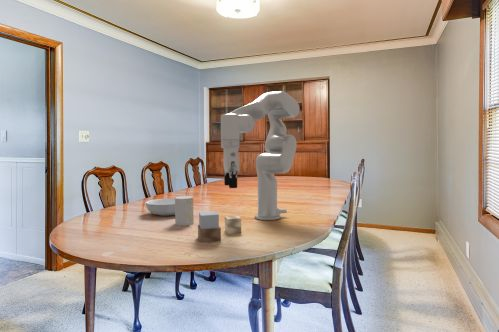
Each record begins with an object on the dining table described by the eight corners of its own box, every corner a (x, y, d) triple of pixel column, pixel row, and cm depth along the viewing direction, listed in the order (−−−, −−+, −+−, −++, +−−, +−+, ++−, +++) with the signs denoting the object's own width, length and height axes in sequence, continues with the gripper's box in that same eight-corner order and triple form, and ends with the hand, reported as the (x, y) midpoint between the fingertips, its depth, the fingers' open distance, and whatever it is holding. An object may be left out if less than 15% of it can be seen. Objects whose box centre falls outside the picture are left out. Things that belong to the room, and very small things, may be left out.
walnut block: (217, 236, 126) (217, 223, 126) (220, 241, 119) (220, 228, 119) (198, 237, 124) (197, 224, 124) (200, 243, 117) (200, 229, 117)
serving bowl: (195, 212, 171) (195, 199, 171) (165, 220, 153) (165, 206, 153) (168, 208, 182) (167, 196, 182) (137, 215, 165) (136, 202, 164)
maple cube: (237, 229, 136) (237, 215, 136) (241, 232, 131) (241, 218, 130) (225, 230, 134) (225, 216, 134) (227, 234, 129) (227, 219, 129)
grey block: (216, 223, 126) (215, 211, 125) (218, 227, 119) (218, 214, 119) (199, 225, 124) (199, 212, 124) (201, 229, 118) (201, 215, 117)
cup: (189, 226, 142) (189, 199, 141) (172, 225, 144) (171, 198, 143) (196, 221, 150) (195, 196, 149) (179, 221, 152) (179, 195, 151)
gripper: (244, 144, 123) (244, 188, 124) (234, 144, 140) (235, 183, 141) (225, 144, 121) (225, 189, 122) (217, 144, 138) (218, 184, 139)
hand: (230, 186), depth 132 cm, fingers open, 9 cm apart
